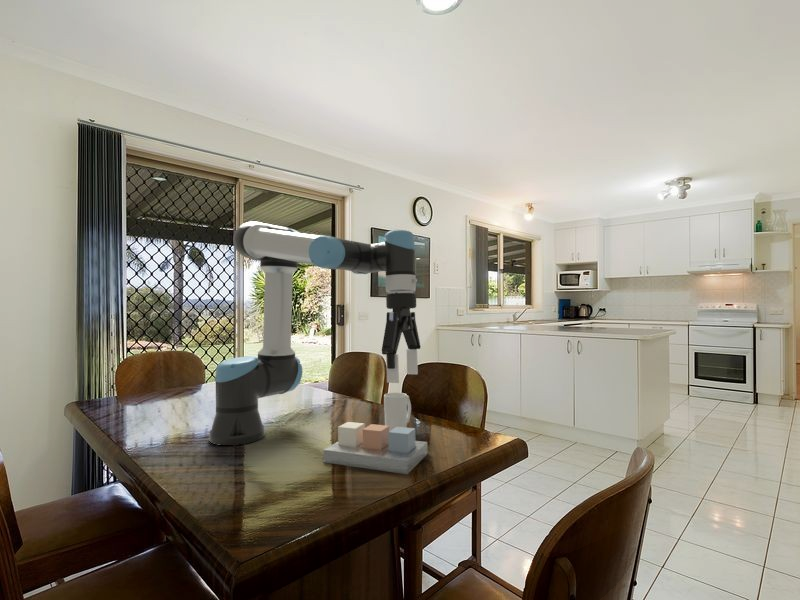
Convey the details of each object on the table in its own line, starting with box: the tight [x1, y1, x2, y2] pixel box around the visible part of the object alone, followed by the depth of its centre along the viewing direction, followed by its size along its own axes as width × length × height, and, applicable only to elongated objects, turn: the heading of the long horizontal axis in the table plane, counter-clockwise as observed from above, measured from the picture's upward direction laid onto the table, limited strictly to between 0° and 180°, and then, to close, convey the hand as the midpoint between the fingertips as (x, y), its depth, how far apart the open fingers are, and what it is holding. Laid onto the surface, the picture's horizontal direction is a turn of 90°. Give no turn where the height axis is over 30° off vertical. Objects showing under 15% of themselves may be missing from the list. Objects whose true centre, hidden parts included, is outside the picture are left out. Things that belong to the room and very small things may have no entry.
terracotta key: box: [363, 423, 389, 451], centre depth 102 cm, size 5×5×5 cm
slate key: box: [388, 427, 416, 454], centre depth 99 cm, size 5×5×5 cm
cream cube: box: [337, 421, 366, 447], centre depth 104 cm, size 5×5×5 cm
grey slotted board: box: [322, 440, 428, 475], centre depth 101 cm, size 22×14×3 cm, turn 68°
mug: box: [383, 392, 412, 431], centre depth 121 cm, size 10×7×12 cm, turn 137°
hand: (403, 378), depth 101 cm, fingers open, 13 cm apart
